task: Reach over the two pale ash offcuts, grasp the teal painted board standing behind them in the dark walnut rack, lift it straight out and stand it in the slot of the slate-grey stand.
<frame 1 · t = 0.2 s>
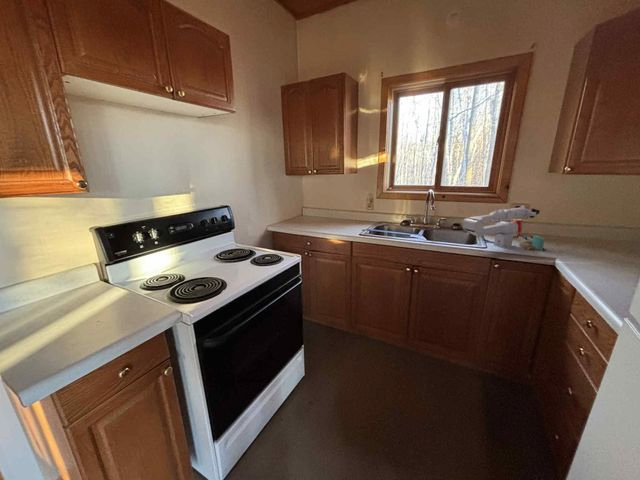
hand: (532, 210, 170), 21 cm above the counter, tool horizontal, fingers open, 7 cm apart
offcut a: (522, 246, 166), point 1 cm above the counter, touching rack
soda can: (514, 236, 193), on the counter
offcut b: (526, 248, 161), point 1 cm above the counter, touching rack
rack: (533, 249, 162), on the counter
stand: (526, 243, 175), on the counter
board: (536, 248, 162), point 1 cm above the counter, touching rack
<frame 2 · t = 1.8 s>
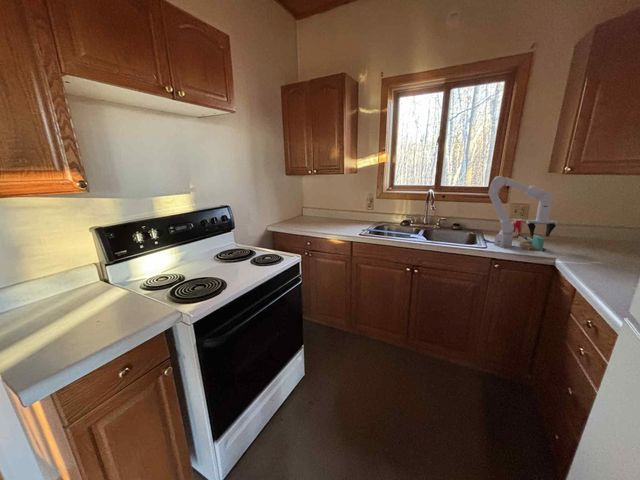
hand: (539, 236, 160), 8 cm above the counter, tool pointing down, fingers open, 7 cm apart
nothing on the counter moved.
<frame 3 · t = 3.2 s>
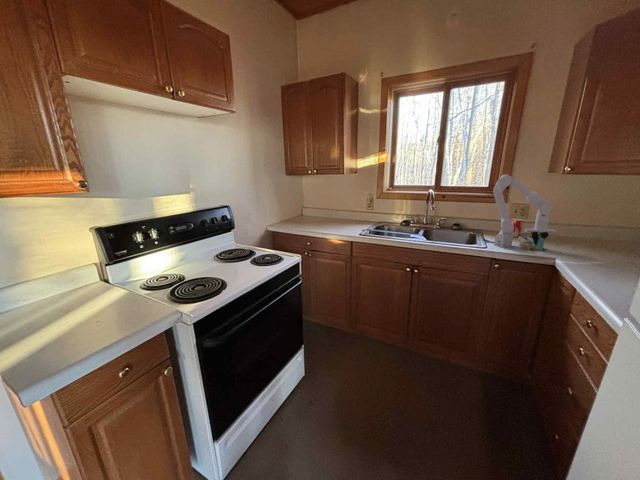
hand: (537, 244, 161), 3 cm above the counter, tool pointing down, fingers closed on board, 2 cm apart
board: (536, 248, 162), point 1 cm above the counter, touching gripper, rack
everything else where it was.
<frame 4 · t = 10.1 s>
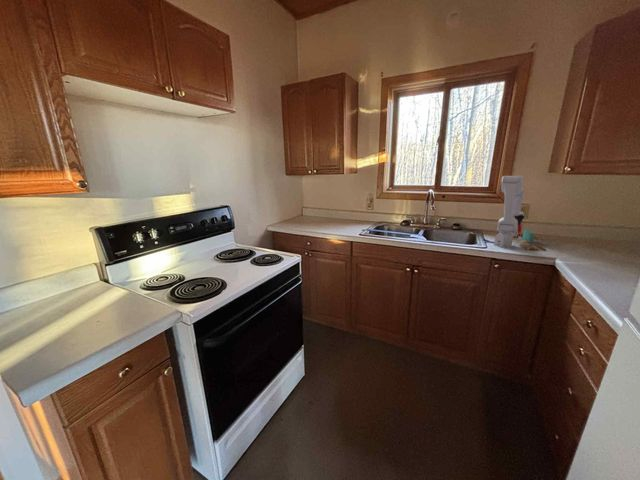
hand: (512, 226, 180), 9 cm above the counter, tool pointing down, fingers open, 7 cm apart
board: (527, 242, 174), point 1 cm above the counter, touching stand
everything else where it was.
at the end: board 0.2 cm off-centre on the stand, point 1.0 cm above the stand's base; board tilted 0°; the gripper is holding nothing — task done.
